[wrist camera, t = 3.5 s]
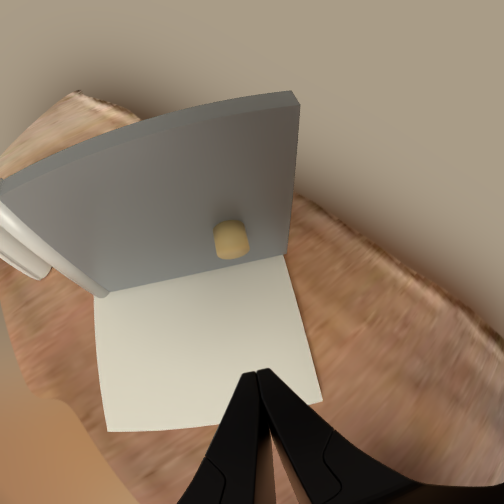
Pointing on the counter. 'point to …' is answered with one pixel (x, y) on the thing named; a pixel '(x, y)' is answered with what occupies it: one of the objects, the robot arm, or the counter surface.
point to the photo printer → (22, 256)
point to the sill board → (198, 345)
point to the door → (162, 195)
